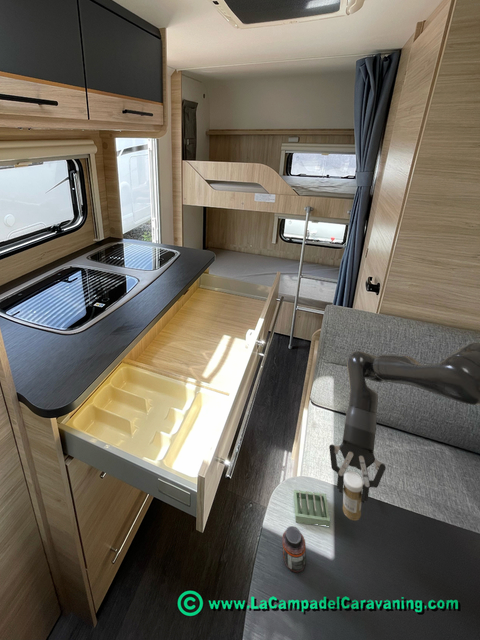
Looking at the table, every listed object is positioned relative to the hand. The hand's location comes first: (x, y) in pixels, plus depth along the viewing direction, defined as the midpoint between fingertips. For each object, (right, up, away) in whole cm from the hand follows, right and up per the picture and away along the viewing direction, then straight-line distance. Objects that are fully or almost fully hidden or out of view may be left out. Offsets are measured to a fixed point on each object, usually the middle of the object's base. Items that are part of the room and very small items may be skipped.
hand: (351, 496), depth 84 cm
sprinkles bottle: (+2, -8, +5) cm, 9 cm away
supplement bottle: (-13, -21, +5) cm, 25 cm away
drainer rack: (-5, -16, +15) cm, 22 cm away
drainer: (-5, -16, +15) cm, 22 cm away
